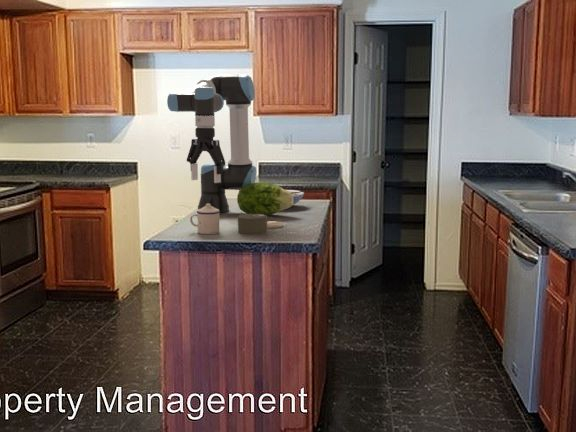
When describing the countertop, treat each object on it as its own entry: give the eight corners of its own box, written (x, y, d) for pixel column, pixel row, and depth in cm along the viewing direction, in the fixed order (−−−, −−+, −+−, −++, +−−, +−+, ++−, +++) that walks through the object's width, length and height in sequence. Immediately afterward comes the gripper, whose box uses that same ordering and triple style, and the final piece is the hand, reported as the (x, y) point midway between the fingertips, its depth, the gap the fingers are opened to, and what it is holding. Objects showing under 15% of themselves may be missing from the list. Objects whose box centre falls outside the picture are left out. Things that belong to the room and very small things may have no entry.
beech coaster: (254, 226, 264) (254, 223, 264) (270, 223, 271) (270, 220, 271) (271, 229, 257) (271, 226, 257) (287, 226, 265) (287, 223, 264)
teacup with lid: (221, 230, 254) (221, 202, 252) (217, 234, 245) (217, 205, 243) (192, 229, 255) (192, 201, 253) (187, 234, 246) (187, 205, 244)
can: (231, 232, 252) (231, 215, 250) (256, 228, 259) (256, 212, 258) (248, 236, 242) (248, 219, 241) (273, 233, 249) (273, 216, 248)
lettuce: (291, 218, 281) (290, 185, 278) (234, 218, 286) (232, 185, 282) (296, 211, 295) (295, 179, 292) (242, 211, 300) (240, 180, 297)
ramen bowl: (283, 201, 333) (283, 186, 331) (314, 206, 317) (315, 190, 316) (248, 207, 315) (248, 191, 314) (280, 212, 299) (280, 195, 298)
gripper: (177, 126, 248) (178, 179, 252) (219, 128, 232) (220, 184, 236) (191, 126, 254) (192, 178, 258) (234, 127, 238) (234, 182, 241)
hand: (205, 181), depth 247 cm, fingers open, 13 cm apart
